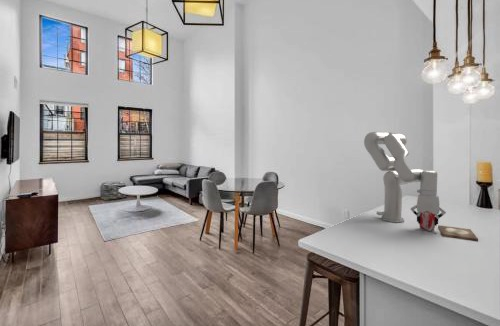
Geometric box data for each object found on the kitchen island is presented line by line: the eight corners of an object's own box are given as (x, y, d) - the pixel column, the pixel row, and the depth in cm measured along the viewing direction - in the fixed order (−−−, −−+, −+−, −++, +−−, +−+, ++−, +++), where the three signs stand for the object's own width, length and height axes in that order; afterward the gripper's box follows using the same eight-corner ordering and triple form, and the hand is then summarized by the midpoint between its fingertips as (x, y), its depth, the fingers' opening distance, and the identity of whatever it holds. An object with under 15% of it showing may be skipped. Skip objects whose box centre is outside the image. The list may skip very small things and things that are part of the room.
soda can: (437, 232, 134) (438, 210, 134) (422, 231, 136) (423, 210, 135) (430, 227, 141) (431, 207, 140) (416, 227, 143) (417, 206, 142)
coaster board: (442, 236, 129) (442, 233, 129) (438, 227, 142) (438, 224, 142) (478, 241, 121) (478, 238, 121) (470, 231, 135) (470, 228, 135)
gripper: (409, 192, 138) (408, 223, 140) (449, 195, 129) (447, 228, 131) (409, 190, 145) (408, 220, 146) (447, 193, 136) (445, 224, 137)
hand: (427, 223), depth 138 cm, fingers closed on soda can, 7 cm apart
